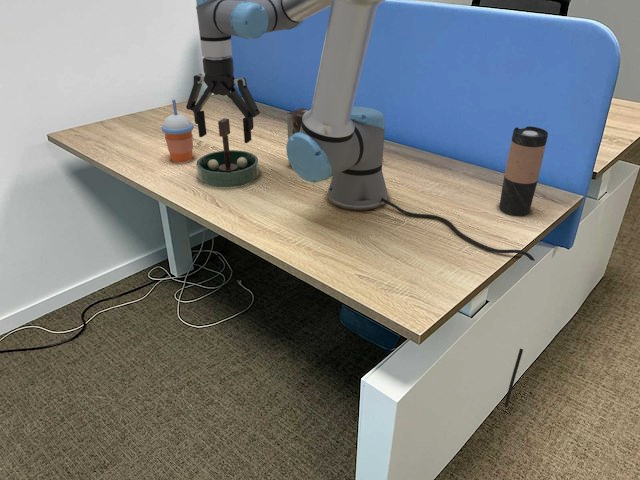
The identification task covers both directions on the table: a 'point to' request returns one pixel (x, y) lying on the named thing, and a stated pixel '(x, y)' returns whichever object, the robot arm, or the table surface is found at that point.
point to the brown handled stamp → (226, 146)
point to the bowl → (228, 178)
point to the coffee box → (295, 121)
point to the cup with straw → (178, 136)
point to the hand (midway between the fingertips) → (225, 138)
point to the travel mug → (522, 170)
